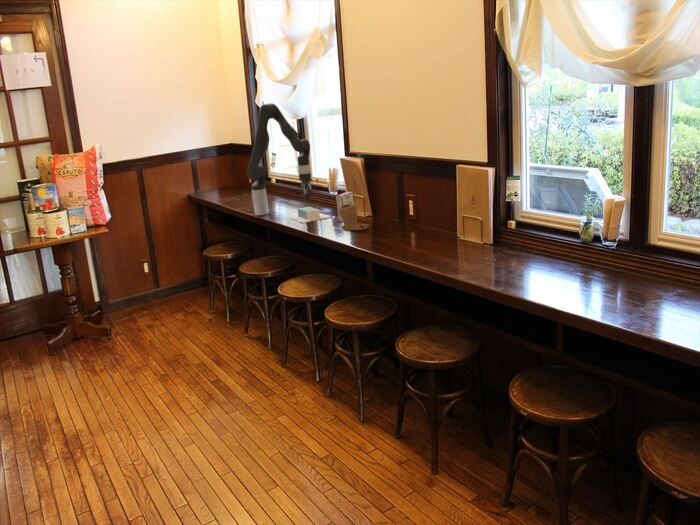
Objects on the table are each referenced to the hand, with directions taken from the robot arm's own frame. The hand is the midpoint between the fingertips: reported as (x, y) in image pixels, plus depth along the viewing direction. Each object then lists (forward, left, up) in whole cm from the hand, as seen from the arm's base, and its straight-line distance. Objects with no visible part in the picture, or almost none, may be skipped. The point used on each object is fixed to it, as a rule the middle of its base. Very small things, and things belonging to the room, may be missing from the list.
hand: (307, 199), depth 390 cm
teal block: (-7, 0, -9) cm, 11 cm away
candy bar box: (+25, +13, -12) cm, 31 cm away
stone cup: (+49, +3, -12) cm, 51 cm away
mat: (+3, 0, -12) cm, 12 cm away
